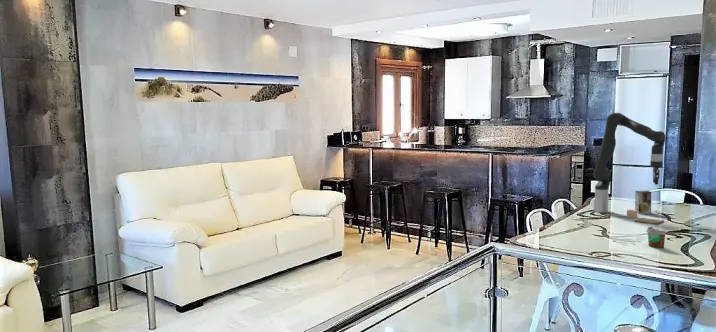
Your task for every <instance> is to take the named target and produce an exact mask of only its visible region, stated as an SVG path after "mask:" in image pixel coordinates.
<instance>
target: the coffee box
mask: <svg viewBox="0 0 716 332" xmlns="http://www.w3.org/2000/svg"><path fill="white" fill-rule="evenodd" d="M634 192H635V193H634V194H635V195H634V199H635V200H634V210H637V215H644V214H652V191H649V190H635V191H634Z"/></svg>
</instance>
